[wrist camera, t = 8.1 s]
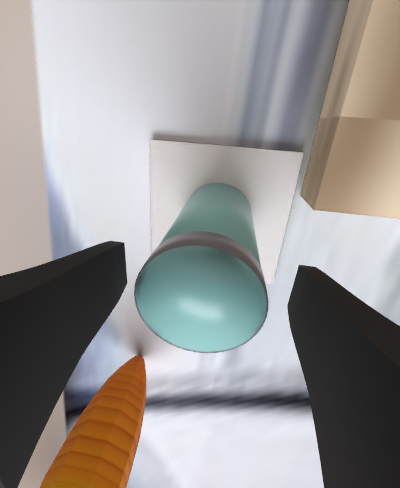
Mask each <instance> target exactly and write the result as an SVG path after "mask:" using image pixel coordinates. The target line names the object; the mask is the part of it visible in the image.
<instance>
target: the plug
mask: <svg viewBox="0 0 400 488" xmlns="http://www.w3.org/2000/svg"><path fill="white" fill-rule="evenodd" d="M134 296H135V303H136V307H137V309H138V312H139V314H140V316H141V318H142V319H143V321H144V322H145V324H146V325H147V326H148V327H149V328H150V329H151V330H152V331H153V332H154V333H155V334H156V335H157V336H159V337H160V338H161V339H163V340H164V341H166V342H168V343H170V344H172V345H174V346H176V347H179V348H182V349H185V350H188V351H193V352H200V353H217V352H224V351H228V350H231V349H234V348H237V347H239V346H241V345H243V344H245V343H246V342H248V341H249V340H251V339H252V338H253V337H254V336H255V335H256V334H257V333H258V332H259V330H260V329H261V327H262V326H263V324H264V322H265V319H266V317H267V312H268V296H267V290H266V285H265V279H264V275H263V272H262V269H261V264H260V259H259V253H258V247H257V241H256V235H255V229H254V223H253V217H252V212H251V207H250V204H249V202H248V200H247V198H246V197H245V195H244V194H243V193H242V192H241V191H240V190H238V189H237V188H235V187H233V186H231V185H228V184H224V183H212V184H208V185H205V186H203V187H201V188H199V189H198V190H196V191H195V192H194V193H193V194H192V196H191V197H190V198H189V200H188V201H187V203H186V205H185V206H184V208H183V209H182V211H181V212H180V214H179V215H178V217H177V218H176V220H175V221H174V223H173V224H172V226H171V227H170V229H169V231H168V232H167V234H166V235H165V237H164V238H163V240H162V241H161V243H160V244H159V246H158V247H157V248H156V249H155V250H154V251H153V252H152V254H151V255H150V257H149V258H148V260H147V261H146V263H145V264H144V266H143V268H142V269H141V271H140V272H139V274H138V277H137V279H136V283H135V290H134Z"/></svg>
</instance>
